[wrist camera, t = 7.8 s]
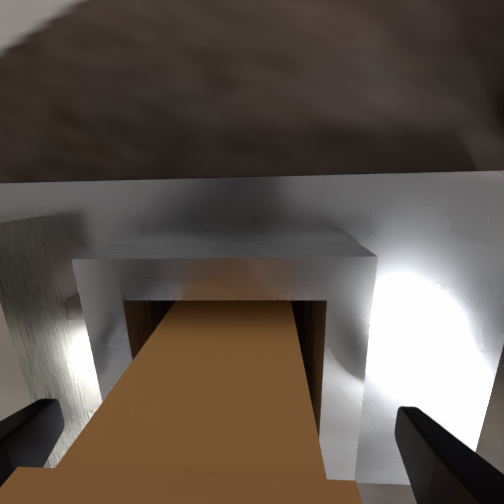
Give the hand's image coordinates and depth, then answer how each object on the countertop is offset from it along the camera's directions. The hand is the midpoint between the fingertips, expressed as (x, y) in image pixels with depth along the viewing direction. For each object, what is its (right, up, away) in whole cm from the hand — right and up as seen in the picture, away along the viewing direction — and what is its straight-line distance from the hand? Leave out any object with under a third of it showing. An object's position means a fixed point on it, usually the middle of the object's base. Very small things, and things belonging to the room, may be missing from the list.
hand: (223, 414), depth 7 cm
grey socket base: (0, +1, +5) cm, 5 cm away
